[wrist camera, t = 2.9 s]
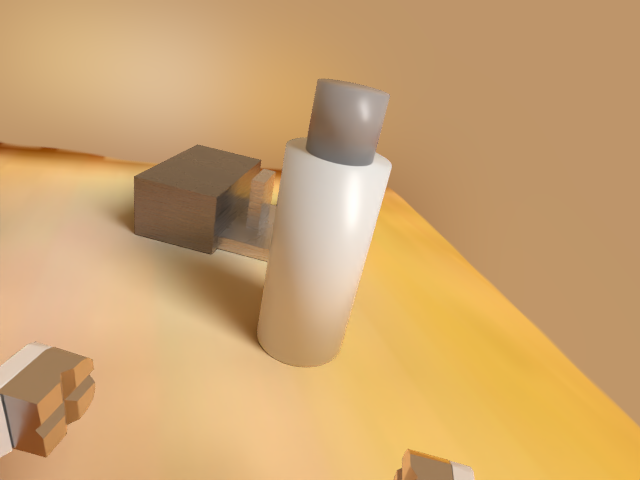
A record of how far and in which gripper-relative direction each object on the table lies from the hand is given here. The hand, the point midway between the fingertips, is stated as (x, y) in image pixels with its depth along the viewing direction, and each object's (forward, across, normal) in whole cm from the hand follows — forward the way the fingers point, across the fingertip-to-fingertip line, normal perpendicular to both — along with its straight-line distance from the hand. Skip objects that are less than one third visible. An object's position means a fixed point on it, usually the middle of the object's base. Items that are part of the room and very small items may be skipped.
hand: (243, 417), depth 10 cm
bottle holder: (+23, +7, +7) cm, 25 cm away
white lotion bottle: (+12, 0, +7) cm, 14 cm away
